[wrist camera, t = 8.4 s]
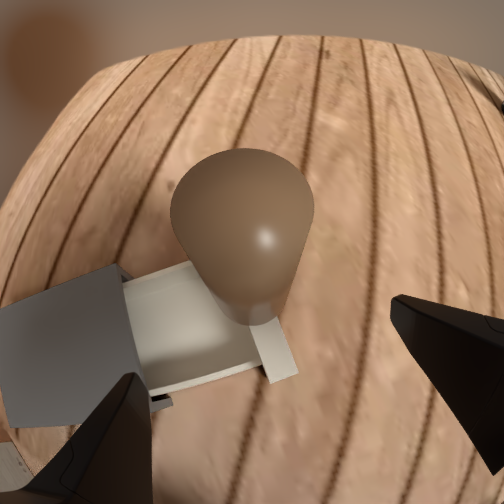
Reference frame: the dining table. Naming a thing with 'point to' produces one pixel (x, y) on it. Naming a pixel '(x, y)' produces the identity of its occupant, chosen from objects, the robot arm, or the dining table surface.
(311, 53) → the dining table surface
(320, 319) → the dining table surface
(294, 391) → the dining table surface
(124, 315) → the grey drawer housing
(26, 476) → the small box
